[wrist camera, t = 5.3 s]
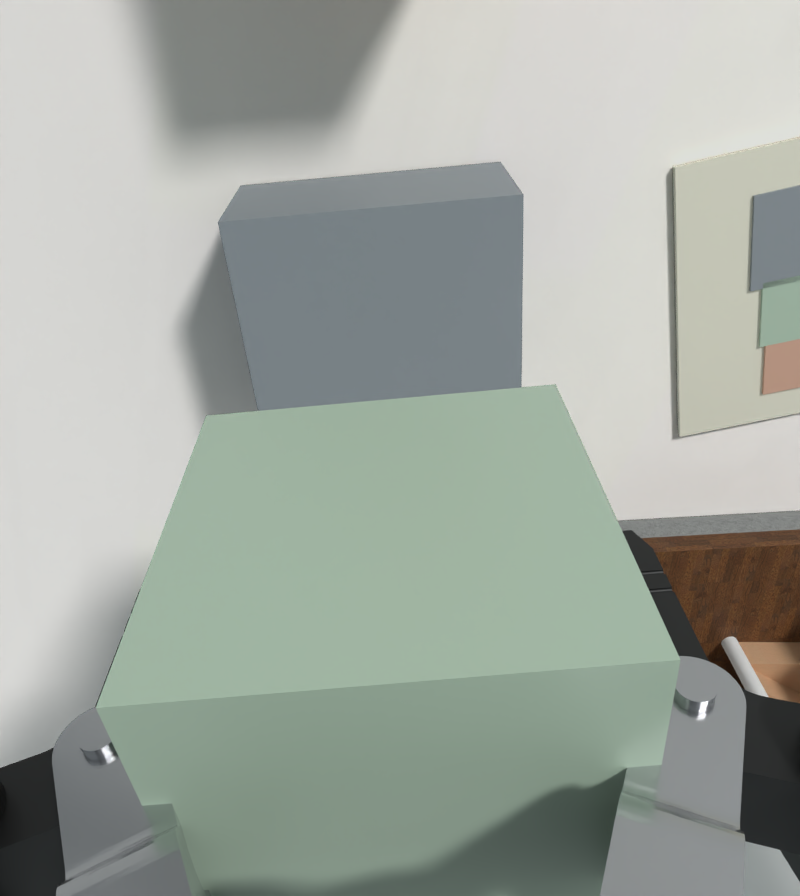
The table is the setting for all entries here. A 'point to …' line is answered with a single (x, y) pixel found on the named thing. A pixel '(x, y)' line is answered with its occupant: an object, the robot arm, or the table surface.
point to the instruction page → (737, 287)
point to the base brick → (378, 284)
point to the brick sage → (392, 653)
